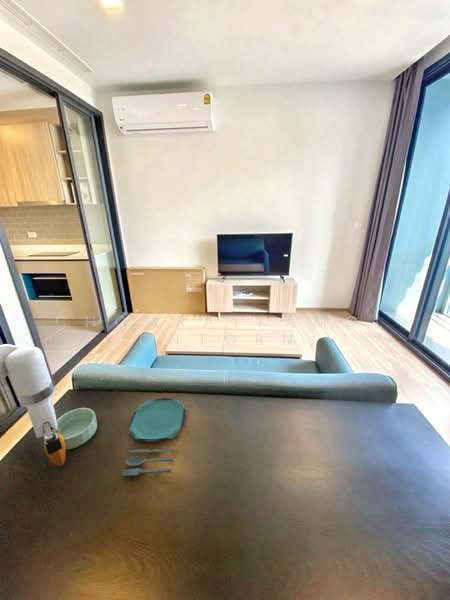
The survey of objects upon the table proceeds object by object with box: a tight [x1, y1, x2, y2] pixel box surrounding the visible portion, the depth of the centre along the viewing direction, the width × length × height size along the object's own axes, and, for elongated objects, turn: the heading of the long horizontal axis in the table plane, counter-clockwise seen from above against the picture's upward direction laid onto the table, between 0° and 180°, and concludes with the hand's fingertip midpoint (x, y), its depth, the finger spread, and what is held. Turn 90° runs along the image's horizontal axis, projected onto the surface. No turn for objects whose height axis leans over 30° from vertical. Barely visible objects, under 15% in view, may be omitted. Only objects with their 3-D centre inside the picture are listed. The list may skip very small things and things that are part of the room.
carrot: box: [43, 430, 67, 467], centre depth 73 cm, size 5×5×15 cm
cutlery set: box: [121, 397, 187, 477], centre depth 86 cm, size 20×30×2 cm, turn 1°
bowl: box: [52, 407, 98, 450], centre depth 86 cm, size 13×13×5 cm
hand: (53, 439), depth 72 cm, fingers open, 9 cm apart
